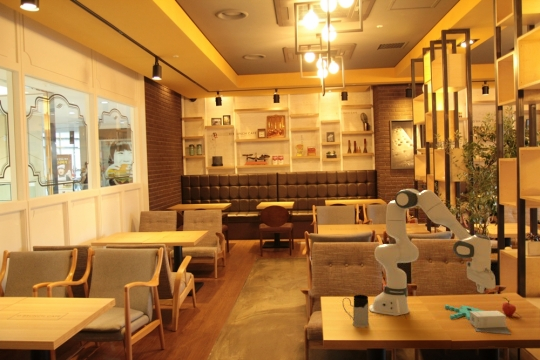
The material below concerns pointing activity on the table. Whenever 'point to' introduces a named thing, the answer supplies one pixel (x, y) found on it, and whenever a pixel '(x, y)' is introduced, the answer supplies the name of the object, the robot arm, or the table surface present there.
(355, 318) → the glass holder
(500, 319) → the skincare box
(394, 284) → the robot arm
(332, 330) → the table surface
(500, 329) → the mat
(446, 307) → the alien figure
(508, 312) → the apple
